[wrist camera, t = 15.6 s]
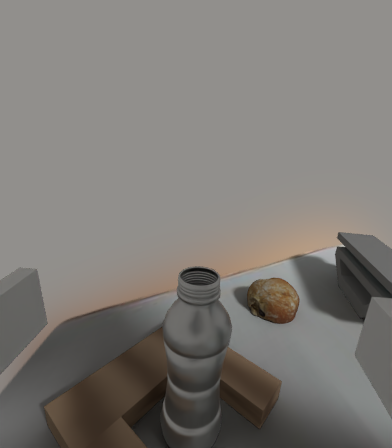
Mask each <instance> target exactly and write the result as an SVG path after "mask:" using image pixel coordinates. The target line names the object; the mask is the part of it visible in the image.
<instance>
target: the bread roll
mask: <svg viewBox="0 0 392 448" xmlns="http://www.w3.org/2000/svg"><path fill="white" fill-rule="evenodd" d="M247 300H248V306H249V308H250V309H251V313H252V314H253V315H256V316H258V317H261V318H263V319H265V320H268V321H272V322H273V323H278V324H284V323H288V322H291V321H292V320H293V319H294V317H295V315H296V312H297V309H298V306H299V296H298V294H297V293H296V291H295V289H294V288H293V287H292V286H291V285H290V284H289V283H288V282H286V281H285V280H283V279H280V278H270V279H264V280H263V279H259V280H256V281H255V282H253V283H252V284H251V286H250V287H249V289H248V293H247Z"/></svg>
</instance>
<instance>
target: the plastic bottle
mask: <svg viewBox="0 0 392 448" xmlns="http://www.w3.org/2000/svg"><path fill="white" fill-rule="evenodd" d="M220 291H221V290H220V275H219V274H218V273H217V272H216V271H215V270H213V269H210V268H207V267H200V266H198V267H197V266H195V267H189V268H186V269H184V270H182V271H181V272H180V273H179V277H178V287H177V295H178V297H179V298H178V299H177V300H176V301H175V302H174V303H173V305H172V306H171V307H170V309H169V310H168V311H167V313H166V316H165V319H164V322H163V338H164V345H165V351H166V357H167V377H168V379H167V387H166V394H165V398H164V401H163V406H162V411H161V417H160V422H161V428H162V432H163V436H164V439H165V441H166V443H167V444H168V446H169V447H170V448H211V447H212V445H213V444H214V443H215V441H216V439H217V436H218V434H219V431H220V428H221V424H222V412H221V404H220V378H221V372H222V367H223V361H224V358H225V355H226V351H227V348H228V345H229V342H230V338H231V333H232V325H231V320H230V317H229V314H228V312H227V311H226V309H225V308H224V306H223V305H222V303H221V302H220V301H219V300H218V299H219V298H220Z"/></svg>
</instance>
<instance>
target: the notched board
mask: <svg viewBox="0 0 392 448" xmlns="http://www.w3.org/2000/svg"><path fill="white" fill-rule="evenodd" d="M167 379H168V377H167V357H166V351H165V345H164V338H163V327H161V328H160V329H158V330H157V331H155V332H154V333H152V334H151V335H149V336H148V337H146V338H145V339H143V340H142V341H140V342H139V343H137V344H136V345H135V346H133V347H132V348H130V349H129V350H127V351H126V352H124V353H123V354H121V355H120V356H118V357H117V358H115V359H114V360H112V361H111V362H109V363H108V364H106V365H105V366H103V367H102V368H100V369H99V370H97V371H96V372H95V373H93V374H92V375H90V376H89V377H87V378H86V379H84V380H83V381H81V382H80V383H78V384H77V385H75V386H74V387H72V388H71V389H69V390H68V391H66V392H65V393H63V394H62V395H60V396H59V397H57V398H56V399H54V400H53V401H52V402H50V403H49V404H47V405H46V406H44V409H45V414H46V419H47V424H48V427H49V429H50V430H51V432H52V434H53V436H54V437H55V439H56V441H57V442H58V444H59V446H60V448H147V447H146V446H145V444H144V443H143V442H142V441H141V440H140V438H139V437H138V436H137V435H136V434H135V433H134V431H133V430H132V429H131V427H132V426H133V425H134V424H135V423H136V422H137V421H138V420H139V419H141V418H142V417H143V416H144V415H145V414H146V413H147V412H148V411H149V410H150V409H151V408H152V407H153V406H154V405H155V404H157V403H158V402H159V401H160V400H161V399H162V398H163V397H164V396H165V394H166V387H167ZM281 382H282V381H280V380H279V379H277V378H275V377H274V376H272V375H271V374H269V373H268V372H266V371H265V370H263V369H261V368H260V367H258V366H257V365H255V364H254V363H252V362H250V361H249V360H247V359H246V358H244V357H243V356H241V355H240V354H238V353H236V352H235V351H233V350H232V349H230V348H229V347H228V348H227V351H226V355H225V358H224V361H223V367H222V372H221V378H220V398H221V399H222V400H224V401H225V402H226V403H227V404H229V405H230V406H231V407H232V408H234V409H235V410H236V411H237V412H239V413H240V414H241V415H243V416H244V417H245V418H246V419H248V420H249V421H250V422H251V423H253V424H254V425H255V426H256V427H258V428H259V429H260V428H261V426H262V425H263V423H264V421H265V420H266V418H267V416H268V415H269V413H270V411H271V410H272V408H273V406H274V405H275V403H276V401H277V400H278V397H279V392H280V387H281Z"/></svg>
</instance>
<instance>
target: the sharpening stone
mask: <svg viewBox="0 0 392 448" xmlns="http://www.w3.org/2000/svg"><path fill="white" fill-rule="evenodd" d="M337 238H338V239H339V240H340V242H341V243H342V244H343V245H344V246H345V247H337V249H336V253H335V257H336V267H337V276H338V286H339V287H340V289H341V290H342V292H343V293H344V295H345V296H346V298H347V299H348V301H349V302H350V304H351V305H352V307H353V308H354V310H355V311H356V313H357V314H358V316H359V317H360V318H364V319H365V318H366V314H367V311H368V308H369V304H370V301H371V298H372V297H381V298H392V249H391V248H389V247H388V246H387V245H385V244H384V243H383V242H381V241H380V240H379V239H377V238H376V237H374V236H373V235H362V234H352V233H341V232H339V233H338V237H337Z"/></svg>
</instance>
